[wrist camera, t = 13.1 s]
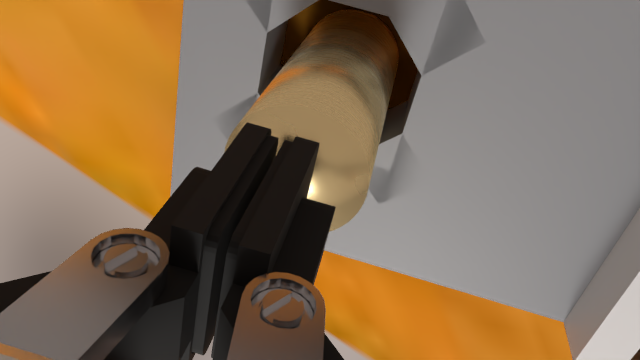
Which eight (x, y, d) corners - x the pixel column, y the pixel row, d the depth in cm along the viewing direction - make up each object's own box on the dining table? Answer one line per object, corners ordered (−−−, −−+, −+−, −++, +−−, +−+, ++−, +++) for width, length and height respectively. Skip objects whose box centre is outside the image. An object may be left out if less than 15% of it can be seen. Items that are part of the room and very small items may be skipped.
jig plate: (810, -54, 16) (941, -22, 12) (587, 282, 23) (617, 375, 19) (235, -198, 17) (164, -216, 13) (198, 168, 25) (147, 232, 20)
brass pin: (410, 23, 19) (387, 130, 12) (383, 112, 21) (348, 252, 14) (315, -2, 20) (232, 86, 12) (297, 87, 22) (216, 212, 14)
